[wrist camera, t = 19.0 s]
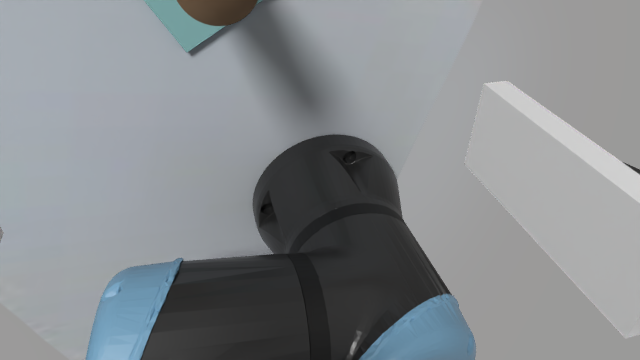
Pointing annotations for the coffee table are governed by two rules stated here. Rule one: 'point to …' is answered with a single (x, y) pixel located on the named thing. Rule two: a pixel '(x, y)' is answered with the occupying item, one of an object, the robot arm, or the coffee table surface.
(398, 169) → the coffee table surface
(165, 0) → the key mat
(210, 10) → the key peg
